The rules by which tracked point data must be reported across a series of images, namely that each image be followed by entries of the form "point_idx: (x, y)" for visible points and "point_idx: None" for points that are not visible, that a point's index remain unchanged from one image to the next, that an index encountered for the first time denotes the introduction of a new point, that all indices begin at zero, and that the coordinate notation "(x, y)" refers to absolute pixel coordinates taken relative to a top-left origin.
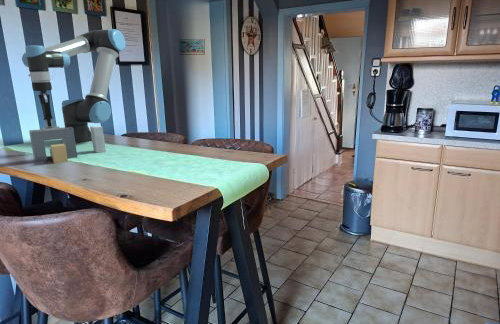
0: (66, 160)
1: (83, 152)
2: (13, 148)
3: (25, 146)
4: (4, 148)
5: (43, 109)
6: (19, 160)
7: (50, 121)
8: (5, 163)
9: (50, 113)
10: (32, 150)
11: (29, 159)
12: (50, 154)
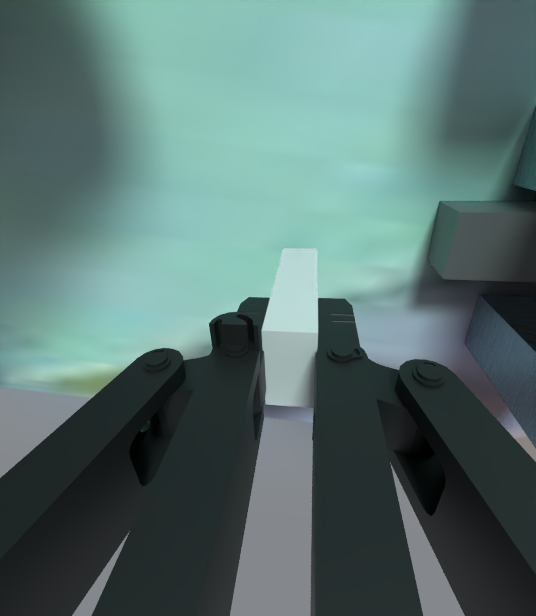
0: None
1: (497, 4)
2: (71, 369)
3: (34, 324)
4: (57, 393)
5: (233, 584)
6: None
7: (356, 340)
8: None
9: (515, 460)
10: (490, 380)
11: (420, 356)
12: (433, 264)
